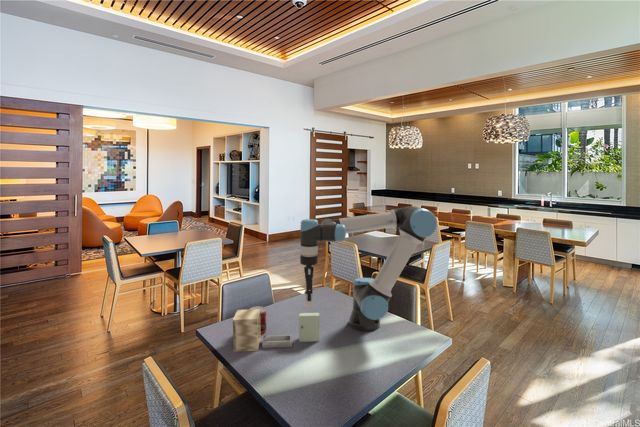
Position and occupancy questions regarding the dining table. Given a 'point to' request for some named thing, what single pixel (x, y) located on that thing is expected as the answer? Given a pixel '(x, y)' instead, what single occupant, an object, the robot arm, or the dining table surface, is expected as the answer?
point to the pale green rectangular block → (308, 327)
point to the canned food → (261, 318)
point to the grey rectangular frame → (277, 341)
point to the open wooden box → (246, 330)
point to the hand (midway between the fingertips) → (308, 301)
